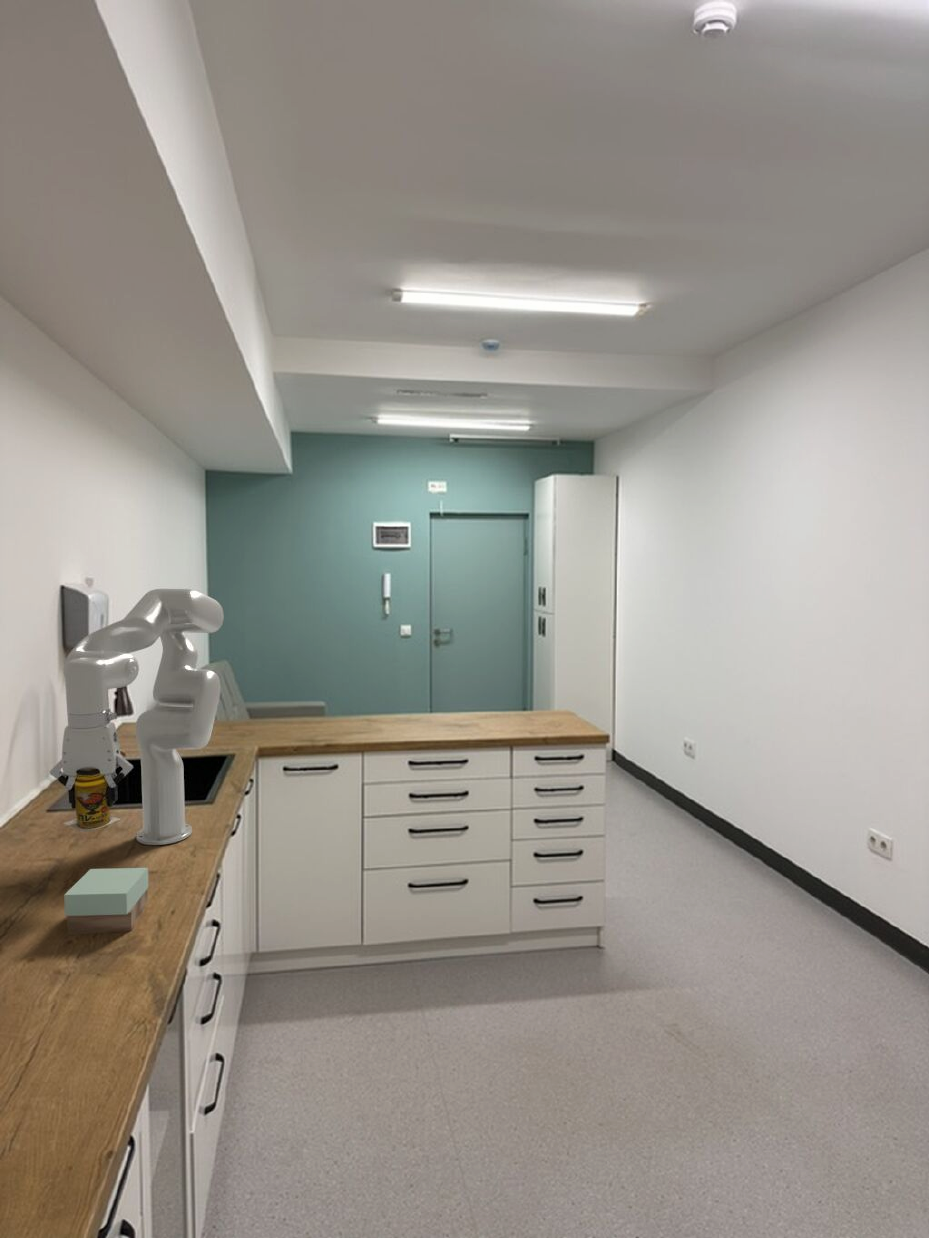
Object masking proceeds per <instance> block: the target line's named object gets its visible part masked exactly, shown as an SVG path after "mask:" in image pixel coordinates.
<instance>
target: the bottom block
mask: <svg viewBox="0 0 929 1238" xmlns="http://www.w3.org/2000/svg"><path fill="white" fill-rule="evenodd" d="M147 901H148V902H149V900H148V889H147V890H146V891H145V892H144V894H143V895H142V896H141V897H140V899H139V900H138V901H137V903H136V904H135V905H134V906H133V908H132V909H131V910H130V911H129V913H128V914H122V915H86V916H66V919H67V920H66V923H67V924H66V925H67V926H66V927H67V935H68V936H75V935H76V936H77V935H88V934H89V935H90V934H102V933H103V934H105V933H117V932H130V931H133V929H134V927H135V925H136V924H137V922H138V920H139V919H140V917H141V914H143V912H144V910H145V908H146V906H147V904H148V903H147ZM146 903H147V904H146ZM145 905H146V906H145ZM144 907H145V908H144ZM143 909H144V910H143ZM142 911H143V912H142ZM138 918H139V919H138Z"/></svg>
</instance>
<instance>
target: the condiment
mask: <svg viewBox="0 0 929 1238" xmlns="http://www.w3.org/2000/svg"><path fill="white" fill-rule="evenodd" d="M76 773H77V776H76V779H77V780H76V781H75V784H74V788H75V802H76V805H75V807H76V808H75V810H76V811H75V815H76V818H73V819H71V820H69V821H65V822H63V823H62V825H66V826H69V827H72V828H74V829H76V830H80V831H82V832H86V833H89V832H91V831H95V830H97V829H100V828H103V827H105V826H107V825H110V824H113V823H114V822H117V821H119V820H121V818H118V817H114V816H113V815H111V811H110V807H108V806H107V791H106V789H107V788H108V783H107V781H106V779H105V777H104V775H101V774H100V770H99V769H90V770H77V771H76Z"/></svg>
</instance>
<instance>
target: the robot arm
mask: <svg viewBox="0 0 929 1238" xmlns="http://www.w3.org/2000/svg"><path fill="white" fill-rule="evenodd" d="M223 624H224V609H223V607H222V605H221V604H220V603H219V602H218V601H217V600H216V599H214V598H212V597H211V596H208V595H207V594H204V593H202V592H201V591H199V590H195V589H190V588H155V589H152V590H150V591H147V592H146V593H145V594H144V595H143V596H142V597H141V598H140V600H138V602H137V603H136V604H135V605H134V607H133V608H132V609H131V610H130V611H129V612H128V613H127V615H126V616H125V617H124V618H123V619H121V620H118V621H116V622H113V623H111V624H109V625H106V626H104V627H102V628H100V629H97V630H95V631H93V632H91V633H89V634H88V635H86V636H85V637H83V638H82V639H81V640H80V641H79V642H78V643H77V644H76V645H75V646H74V647H73V648H72V650H70V652H69V654H68V655H67V656H66V659H65V661H64V664H63V676H64V683H65V685H64V686H65V699H66V712H67V713H66V714H67V726H65V728H64V731H63V738H62V746H61V747H62V748H61V759H60V760H59V761H58V762H57V763H56V764H55V765H54V767H52V768H51V769H50V770H49V774H50V775H51V776H52V777H53V778H55V779H56V780H57V781H58V782H59V783H60V784H61V785H63V786H64V787H65V790H67V791H68V803H69V804H70V805H71V810H76V807H75V805H76V802H75V788H74V784H75V781H76V780H77V779H76V776H77V773H76V771H77V770H90V769H99V770H100V774H101V775H104V777H105V779H106V781H107V783H108V788H107V789H106V791H107V806H108V807H113V805H114V804H115V803H116V802H117V800H118V799H119V798H118V797H119V793H118V792H119V791H118V784H119V783H120V782H121V781H122V780H123V779H124V778H125V777H126V776H127V775H128V774H129V773H130V772H131V771H132V769H134V765H133V764H132V763H130V762H129V761H128V760H127V759H125V757H124V756H122V755H121V747H120V741H119V736H118V730H117V726H116V725H115V723H114V722H112V721H113V720H117V719H118V713H117V712H113V711H111V708H110V699H109V690H113V689H119V688H124V687H127V686H130V684H132V683H133V682H134V681H135V680H136V679H137V677H138V675H139V670H140V667H139V666H140V664H139V662H138V660H137V658H136V657H135V656H134V655H132V654H131V653H134V652H135V653H136V652H138V651H142V650H145V649H147V648H149V647H152V646H153V645H155V643H156V642H157V641H158V639H159V638H160V641H161V645H162V646H161V647H162V654H161V657H160V658H161V659H160V662H159V666H158V670H157V673H156V677H155V680H154V684H153V690H152V697H153V699H154V702H155V703H156V704H158V705H161V706H163V707H164V706H165V707H176V708H153V709H148V710H146V711H144V712H142V713H141V714H140V715H139V716H138V717H137V719H136V722H135V724H134V727H135V730H134V732H135V737H136V742H137V745H138V749H139V755H140V766H141V768H140V770H141V773H140V774H141V797H142V798H141V802H142V828H141V829H139V830H138V832H137V833H136V841H137V842H138V843H140V844H144V845H145V846H146V845H148V846H161V845H162V846H163V845H169V844H174V843H177V842H178V843H179V842H181V841H183V840H185V839H187V838H188V837H190V836H191V834H192V833H193V828H192V826H191V824H189V823H186V813H185V812H186V811H185V810H186V809H185V808H186V807H185V779H184V776H185V775H184V770H185V769H184V762H183V760H182V757H181V755H180V753H179V752H178V750H200V749H203V748H205V747H206V746H207V745H208V743H209V742H210V739H211V736H212V731H213V728H214V725H215V720H216V715H217V711H218V706H219V703H220V696H221V681H220V677H219V676H218V674H217V673H216V672H214V671H213V670H210V669H205V668H196V667H197V662H198V657H199V655H198V653H199V652H198V650H197V648H196V646H195V644H194V643H193V642H192V640H191V639H190V638H189V636H188V635H187V634H188V633H193V634H194V633H196V634H197V633H198V634H213V633H216V632H218V630H219V629H220V628H221V627H222V626H223ZM186 633H187V634H186ZM178 707H179V708H180V707H181V708H192V709H179V708H178ZM119 767H121V768H122V770H121V771H119V772H118V774H117V773H116V769H118V768H119Z"/></svg>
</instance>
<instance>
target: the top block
mask: <svg viewBox="0 0 929 1238" xmlns="http://www.w3.org/2000/svg"><path fill="white" fill-rule="evenodd" d="M148 888H149V868H148V867H125V868H124V867H121V868H120V867H119V868H113V867H112V868H89V870H88V871H87V872H86V873H85V874H84V875H82V877H80V879H79V880H78V881H77V882H76V883H75V884H73V886H72V887H71V888H69V889H68V890H67V892H66V893H65V894H64V895H63V902H64V917H67V916H86V915H122V914H128V913H129V911H130V910H131V909H132V908H133V906H134V905H135V904H136V903H137V901H138V900H139V899H140V897H141V896H142V895H143V894H144V892H145V891H146V890H147V891H148Z"/></svg>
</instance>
